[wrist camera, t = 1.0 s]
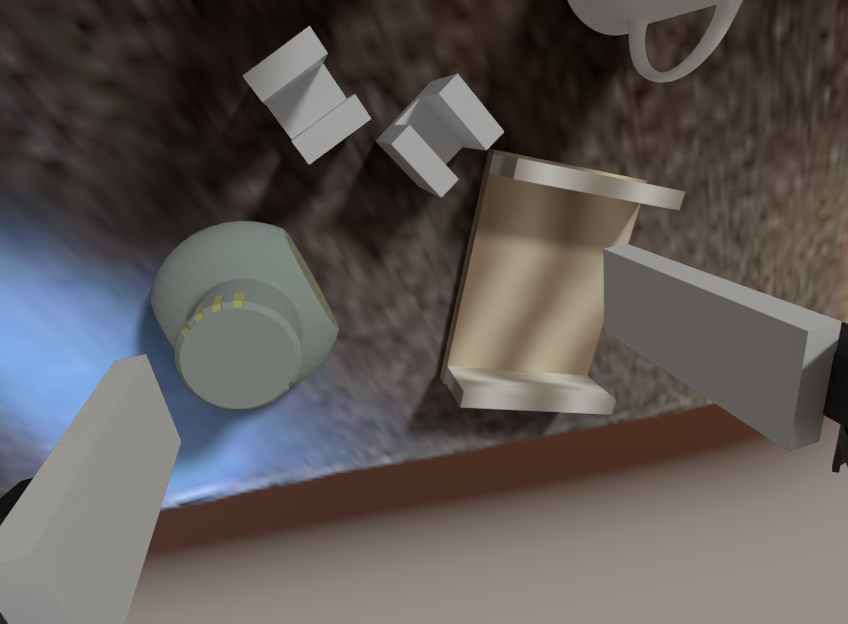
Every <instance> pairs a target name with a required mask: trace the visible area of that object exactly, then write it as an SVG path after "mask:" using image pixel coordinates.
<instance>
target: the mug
mask: <svg viewBox="0 0 848 624" xmlns="http://www.w3.org/2000/svg"><path fill="white" fill-rule="evenodd" d="M567 1H568V3H569V5H570V6H571V8H572V10H573V11H574V13H575V14H576V15H577V17H578V18H579V19H580V20H581V21H582V22H583V23H584V24H586V25H587V26H588V27H590V28H591V29H593V30H595V31H597V32H600V33H603V34H607V35H624V34H629V49H630V55H631V58H632V61H633V64H634V66H635V68H636V69H637V71H638V72H639V73H640V74H641V75H642V76H643V77H644V78H646V79H648V80H651V81H654V82H670V81H674V80H677V79H679V78H681V77H683V76H685V75H687V74H688V73H690V72H691V71H693V70H694V69H695V68H697V67H698V66H699V65H700V64H701V63H702V62H703V61H704V60H705V59H706V58H707V57H708V56H709V55H710V54H711V53H712V51H713V50H714V49H715V48H716V46H717V45H718V44H719V42H720V41H721V39H722V38H723V36H724V35H725V33H726V32H727V30H728V28H729V27H730V25H731V23H732V21H733V19H734V17H735V15H736V13H737V11H738V9H739V7H740V5H741V3H742V1H743V0H567ZM716 4H717V7H716V10H715V14H714V16H713V19H712V21H711V23H710V25H709V27H708V29H707V31H706V33H705V34H704V36H703V38H702V39H701V41H700V42H699V44H698V45H697V47H696V48H695V49H694V50H693V52H692V53H691V54H690V55H689V56H688V57H687V58H686V59H685V60H684V61H683V62H682V63H681V64H679V65H678V66H677V67H675V68H674V69H672V70H670V71H668V72H664V73H659V72H657V71H655V70H654V69H653V68H652V67H651V65H650V64H649V62H648V59H647V56H646V51H645V33H646V28H647V25H648V24H650V23H653V22H656V21H660V20H663V19H667V18H670V17H674V16H677V15H681V14H684V13H688V12H691V11H695V10H698V9H702V8H705V7H709V6H712V5H716Z"/></svg>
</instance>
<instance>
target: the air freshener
mask: <svg viewBox="0 0 848 624" xmlns="http://www.w3.org/2000/svg"><path fill="white" fill-rule="evenodd" d="M150 300H151V305H152V308H153V311H154V313H155V316H156V318H157V321H158V323H159V325H160V327H161V328H162V330H163V332H164V334H165V336H166V337H167V339H168V341H169V342H170V344H171V345H172V347H173V349H174V350H175V364H176V369H177V372H178V374H179V377H180V379H181V380H182V382H183V383H184V385H185V386H186V387H187V388H188V390H189V391H190V392H191V393H192V394H194V395H195V396H196V397H197V398H199V399H200V400H202V401H204V402H205V403H207V404H209V405H212V406H214V407H217V408H221V409H226V410H234V411H237V410H238V409H245V408H246V409H247V410H251V409H257V408H258V407H259V406H262V405H268V404H270V403H272V402H274V401H275V399H277V398H278V397H279V396H281V395H284V394H285V393H286V392H287V391H288V390H289V387H291V386H293V385H295V384H297V383H299V382H301V381H302V380H304V379H305V378H306V377H308V376H309V375H311V374H312V373H313V372H314V371H315V370H316V369H317V368H318V367H319V366H320V365H321V364H322V362H323V361H324V360H325V358H326V357H327V356H328V354H329V353H330V351H331V349H332V347H333V345H334V343H335V341H336V338H337V335H338V332H339V328H338V326H337V323H336V321H335V318H334V316H333V314H332V312H331V310H330V308H329V306H328V304H327V302H326V300H325V298H324V296H323V294H322V292H321V290H320V288H319V286H318V284H317V283H316V281H315V279H314V277H313V275H312V273H311V272H310V270H309V268H308V266H307V264H306V263H305V261H304V259H303V258H302V256H301V254H300V252H299V251H298V249H297V248H296V246H295V244H294V243H293V241H292V240H291V238H290V237H289V235H288V234H287V232H286V231H285V230H284V229H282V228H279V227H277V226H274V225H270V224H265V223H260V222H251V221H236V222H228V223H222V224H218V225H215V226H211V227H208V228H205V229H203V230H201V231H199V232H197V233H195V234H193V235H191V236H190V237H189V238H187V239H186V240H184V241H183V242H182V243H180V244H179V245H178V246H177V247H176V248H175V249H174V250H173V251H172V252H171V253H170V254H169V255H168V256H167V258H166V259H165V261H164V262H163V264H162V265H161V267H160V268H159V270H158V273H157V275H156V277H155V280H154V282H153V285H152V290H151V295H150Z"/></svg>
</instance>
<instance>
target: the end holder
mask: <svg viewBox="0 0 848 624" xmlns="http://www.w3.org/2000/svg"><path fill="white" fill-rule="evenodd" d="M684 194H685V192H684V191H679V190H674V189H669V188H664V187H659V186H654V185H649V184H647V181H645V180H640V179H635V178H630V177H626V176H621V175H616V174H611V173H606V172H601V171H596V170H591V169H586V168H582V167H577V166H572V165H567V164H562V163H557V162H552V161H547V160H542V159H538V158H533V157H528V156H523V155H518V154H513V153H508V152H503V151H499V150H493V149H489V150H488V155H487V159H486V164H485V169H484V174H483V178H482V183H481V188H480V192H479V197H478V202H477V206H476V211H475V216H474V220H473V225H472V230H471V234H470V239H469V244H468V248H467V253H466V258H465V262H464V267H463V272H462V276H461V281H460V286H459V290H458V295H457V300H456V304H455V309H454V314H453V318H452V323H451V328H450V332H449V337H448V342H447V346H446V351H445V356H444V361H443V365H442V370H441V375H440V379H441V381H442V383H443V384H447V386H448V388H449V389H450V391H451V393H452V394H453V396H454V398H455V399H456V401H457V403H458V404H459V406H460V407H461V408H483V409H504V410H526V411H547V412H569V413H590V414H612V411H613V408H614V405H615V402H616V400H615V399H614V398H613V397H612V396H611V395H609V394H608V393H607V392H606V391H605V390H604V389H602V388H601V387H600V386H599V385H598V384H596V383H595V382H594V381H593V380H592V379H591V378H589V377H588V376H587V375H588V372H589V368H590V365H591V362H592V359H593V356H594V352H595V349H596V346H597V343H598V339H599V336H600V333H601V330H602V326H603V323H604V259H603V249H604V248H609V247H613V246H617V245H622V244H628V242H629V239H630V236H631V232H632V229H633V226H634V223H635V219H636V216H637V213H638V210H639V207H640V203H643V204H648V205H654V206H659V207H664V208H669V209H675V210H680V207H681V203H682V200H683V197H684Z"/></svg>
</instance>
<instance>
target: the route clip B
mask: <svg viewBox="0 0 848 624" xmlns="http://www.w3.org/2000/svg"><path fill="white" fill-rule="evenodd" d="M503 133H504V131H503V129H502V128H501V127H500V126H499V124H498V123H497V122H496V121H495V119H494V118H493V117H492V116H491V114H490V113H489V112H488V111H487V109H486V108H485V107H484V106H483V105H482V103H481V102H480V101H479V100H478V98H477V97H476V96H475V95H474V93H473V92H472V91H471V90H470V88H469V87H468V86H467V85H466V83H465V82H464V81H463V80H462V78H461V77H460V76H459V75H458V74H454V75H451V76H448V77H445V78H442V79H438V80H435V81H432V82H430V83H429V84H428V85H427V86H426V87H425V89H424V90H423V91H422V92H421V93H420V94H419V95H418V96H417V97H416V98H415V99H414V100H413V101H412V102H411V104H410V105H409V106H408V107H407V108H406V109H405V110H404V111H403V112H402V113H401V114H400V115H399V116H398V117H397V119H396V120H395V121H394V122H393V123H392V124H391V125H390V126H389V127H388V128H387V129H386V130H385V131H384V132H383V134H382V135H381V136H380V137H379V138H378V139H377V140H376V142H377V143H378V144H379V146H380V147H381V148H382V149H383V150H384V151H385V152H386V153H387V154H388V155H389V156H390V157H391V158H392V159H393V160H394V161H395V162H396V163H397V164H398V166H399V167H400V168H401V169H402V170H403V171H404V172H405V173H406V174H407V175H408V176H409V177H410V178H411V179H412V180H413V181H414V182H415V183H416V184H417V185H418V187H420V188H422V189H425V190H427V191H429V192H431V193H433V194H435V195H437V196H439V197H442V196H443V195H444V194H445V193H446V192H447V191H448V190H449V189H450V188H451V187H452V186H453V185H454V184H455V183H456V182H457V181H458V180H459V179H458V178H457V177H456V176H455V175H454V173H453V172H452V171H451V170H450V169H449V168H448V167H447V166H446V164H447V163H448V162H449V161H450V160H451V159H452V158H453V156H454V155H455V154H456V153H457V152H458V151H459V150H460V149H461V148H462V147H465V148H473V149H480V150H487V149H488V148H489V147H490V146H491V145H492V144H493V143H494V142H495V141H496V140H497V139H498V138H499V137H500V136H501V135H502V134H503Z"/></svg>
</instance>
